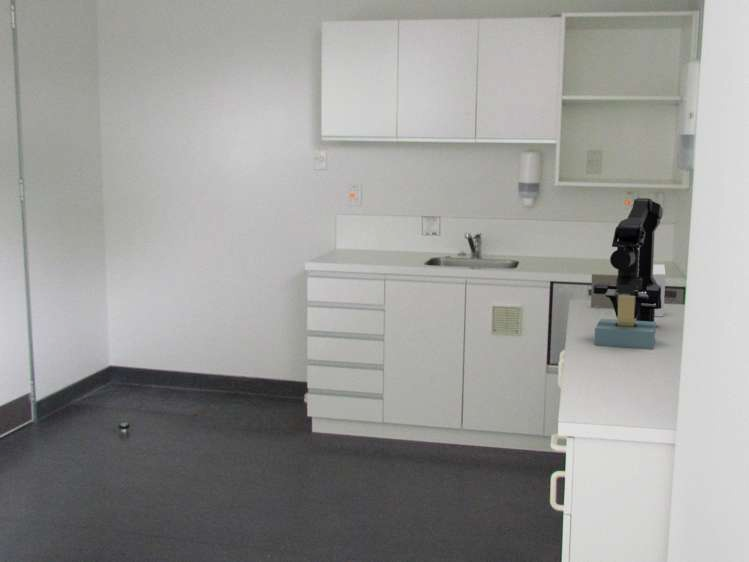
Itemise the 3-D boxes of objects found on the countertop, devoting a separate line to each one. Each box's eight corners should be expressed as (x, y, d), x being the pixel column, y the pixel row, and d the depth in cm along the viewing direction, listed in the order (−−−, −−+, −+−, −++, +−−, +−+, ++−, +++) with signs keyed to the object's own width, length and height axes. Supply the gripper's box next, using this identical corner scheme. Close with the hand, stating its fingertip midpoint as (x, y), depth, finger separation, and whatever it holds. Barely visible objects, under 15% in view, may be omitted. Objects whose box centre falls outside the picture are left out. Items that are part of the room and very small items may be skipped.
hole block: (600, 334, 243) (601, 318, 243) (655, 338, 237) (655, 321, 237) (594, 344, 229) (595, 328, 228) (652, 349, 223) (653, 331, 222)
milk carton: (663, 317, 272) (666, 262, 269) (642, 316, 273) (644, 262, 271) (660, 313, 279) (662, 260, 276) (639, 312, 280) (641, 260, 278)
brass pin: (618, 324, 235) (619, 295, 234) (634, 325, 234) (635, 295, 232) (617, 327, 231) (618, 297, 230) (633, 328, 229) (634, 298, 228)
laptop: (643, 306, 296) (644, 272, 294) (641, 311, 284) (643, 276, 283) (593, 303, 302) (595, 270, 301) (590, 309, 291) (591, 274, 289)
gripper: (592, 267, 226) (590, 321, 228) (660, 270, 219) (658, 325, 221) (596, 263, 236) (594, 314, 238) (662, 266, 229) (660, 318, 231)
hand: (626, 318), depth 232 cm, fingers closed on brass pin, 5 cm apart
